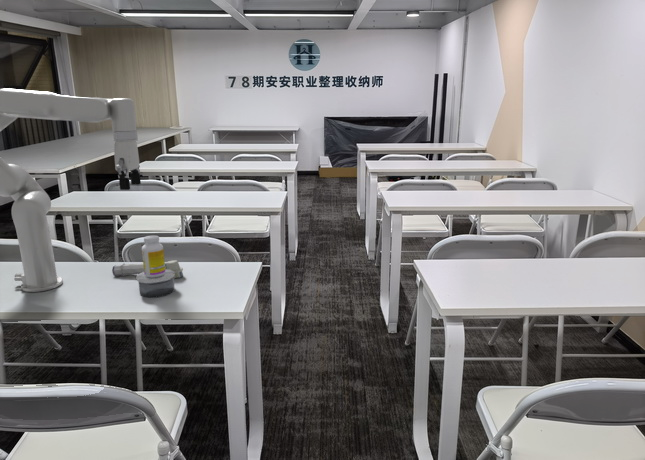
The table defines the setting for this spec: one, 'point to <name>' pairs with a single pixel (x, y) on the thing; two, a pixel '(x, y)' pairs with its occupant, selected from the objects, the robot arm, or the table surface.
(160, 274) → the supplement bottle
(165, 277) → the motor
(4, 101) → the robot arm
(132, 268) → the light grey long piece
